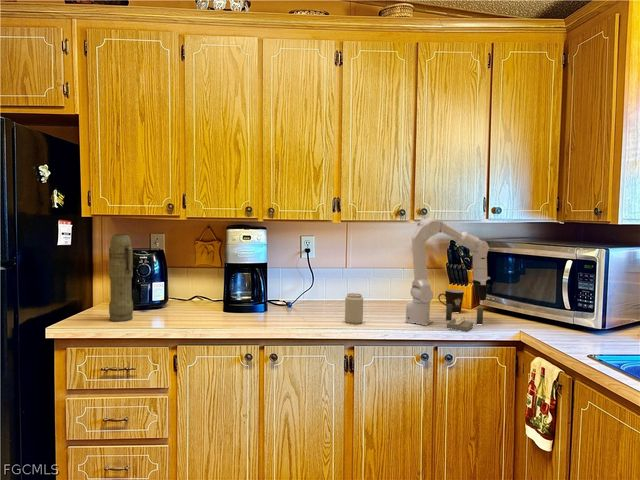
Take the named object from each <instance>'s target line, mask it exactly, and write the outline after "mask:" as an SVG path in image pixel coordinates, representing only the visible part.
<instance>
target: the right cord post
mask: <svg viewBox="0 0 640 480" xmlns="http://www.w3.org/2000/svg"><path fill="white" fill-rule="evenodd" d="M483 319H484V308H482V307H477V309H476V325H477V324H483V322H484V320H483ZM483 325H484V324H483Z"/></svg>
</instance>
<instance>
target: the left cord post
mask: <svg viewBox="0 0 640 480" xmlns="http://www.w3.org/2000/svg"><path fill="white" fill-rule="evenodd" d="M445 307H446V308H445V309H446V310H445V320H446V319H447V320H453V319H452V317H453V313H452V304H447V305H446V306H445ZM447 320H446V321H447Z"/></svg>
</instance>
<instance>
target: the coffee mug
mask: <svg viewBox="0 0 640 480" xmlns="http://www.w3.org/2000/svg"><path fill="white" fill-rule="evenodd" d="M464 294H465V291H464V290H461V289H450V288H447V289H445V290H444V293H440V294H438V301H439V302H440V303H441V304H443V305H444V306H445V307H446V305H447V304H452V312H462V307H463V306H462V305H463V299H464ZM441 296H445V302H443V301H442V300H441V299H440V297H441Z"/></svg>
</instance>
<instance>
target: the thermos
mask: <svg viewBox="0 0 640 480" xmlns="http://www.w3.org/2000/svg"><path fill="white" fill-rule="evenodd" d="M133 251H134V249H133V247H132V240H131V238H130V235H128V233H127V234H125V233H115V234H113V235H112V236H111V239H110V246H109V248H108V253H109V254H108V255H109V256H108V257H109V258H108V259H109V260H108V261H109V263H108V277H109V281H110V288H109V289H110V301H109V304H108V314H109V321H110V322H114V323H120V322H121V323H122V322H129V321H132V320H133V318H134V317H133V313H134V301H133V298H132V294H133V293H132V290H133V289H132V280H133V279H132V278H133V277H134V274H133V273H134V271H133V270H134V269H133V268H134V264H133V263H134V257H133V255H134V252H133Z"/></svg>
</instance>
